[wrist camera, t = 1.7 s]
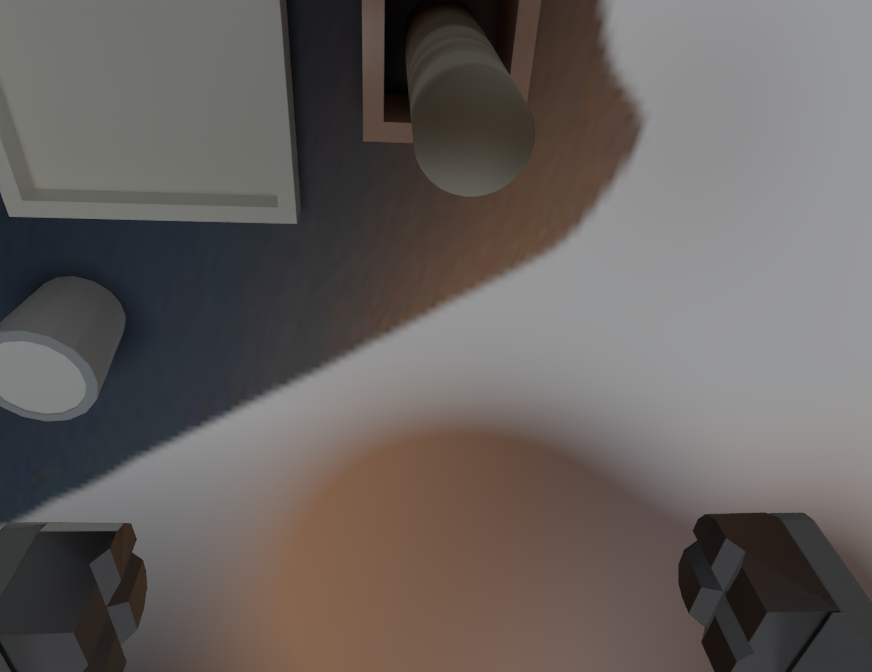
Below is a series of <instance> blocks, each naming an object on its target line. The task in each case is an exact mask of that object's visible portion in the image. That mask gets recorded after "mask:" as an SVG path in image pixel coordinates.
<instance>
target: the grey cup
mask: <svg viewBox="0 0 872 672" xmlns="http://www.w3.org/2000/svg"><path fill="white" fill-rule="evenodd" d="M125 321H126V316H125V313H124V310H123V308H122V305H121V303H120V302H119V301H118V300H117V298H116V297H115V296H114V295H113V294H112V293H111V292H110V291H109V290H107V289H106V288H104V287H102V286H101V285H99V284H97V283H96V282H94V281H91V280H87V279H83V278H80V277H76V276H71V277H57V278H55V279H53V280H51V281H48V282H46V283H44V284H43V285H42V286H41V287H40V288H38V289H37V290H36V291H35V292H34V293H33V294H32V295H31V296H29V297H28V298H27V299H26V300H25V301H24V302H23V303H22V304H20V305H19V306H18V307H17V308H16V309H15V310H14V311H13V312H11V313H10V314H9V315H8V316H7V317H6V318H5V319H4V320H2V321H1V322H0V406H1V407H3V408H5V409H7V410H10V411H12V412H14V413H16V414H18V415H20V416H23V417H28V418H33V419H37V420H42V421H59V420H69V419H72V418H74V417H77V416H79V415H81V414H84V413H86V412H87V411H88V410H89V408H90V407H91V406H92V405H93V404H94V402H95V401H96V400H97V397H98V395H99V392H100V390H101V387H102V385H103V382H104V380H105V377H106V375H107V372H108V370H109V367H110V365H111V362H112V360H113V357H114V354H115V352H116V349H117V347H118V344H119V342H120V339H121V337H122V334H123V332H124V329H125Z"/></svg>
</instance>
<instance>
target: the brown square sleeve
mask: <svg viewBox="0 0 872 672" xmlns="http://www.w3.org/2000/svg"><path fill="white" fill-rule="evenodd" d="M540 7H541V0H501V7H500V17H499V26H498V36H497V45H496V53H497V55H498V56H499V58H500V60H501V61H502V63H503V65H504V66H505V68H506V70H507V71H508V73H509V75H510V76H511V78H512V80H513V81H514V83H515V85H516V86H517V88H518V90H519V91H520V93H521V95H522V96H523V98H524V100H525V101H526V103H527V100H528V93H529V86H530V79H531V72H532V64H533V57H534V50H535V43H536V35H537V28H538V21H539V14H540ZM384 43H385V0H362V61H363V141H367V142H394V143H413V134H412V124H411V113H410V102H409V95H408V94H385V93H384Z"/></svg>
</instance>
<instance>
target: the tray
mask: <svg viewBox="0 0 872 672" xmlns="http://www.w3.org/2000/svg"><path fill="white" fill-rule="evenodd" d="M0 193H1V195H2V198H3V201H4V203H5V206H6V209H7V212H8V214H9V217H44V218H84V219H124V220H164V221H204V222H244V223H284V224H297V222H298V218H299V214H300V210H301V199H300V185H299V171H298V157H297V144H296V130H295V116H294V102H293V88H292V74H291V61H290V47H289V33H288V19H287V5H286V0H0Z"/></svg>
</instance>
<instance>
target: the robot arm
mask: <svg viewBox="0 0 872 672" xmlns="http://www.w3.org/2000/svg"><path fill="white" fill-rule="evenodd" d="M693 532H694V534H695V536H696V538H697V541H696V542H695V543H693V544H692V545H690V546H689V547H688V548H686V549H685V550H684V551H683V554H682V557H681V559H680V562H679V565H678V566H679V567H678V570H679V572H678V573H679V574H678V576H679V577H678V583H679V587H680V591H681V595H682V599H683V601H684V603H685V606H686V608H687V610H688V613H689V614H690V615H691V616H692V617H694V618H695V619H696V620H697V621H698V622H699V623H700V624H702V625H703V626H704V627H705V630H704V634H703V638H702V645H703V647H704V649H705V652H706V654H707V656H708V658H709V661H710V663H711V665H712V667H713V669H714V672H872V601H871V600H870V599H869V597H868V596H867V594H866V593H865V592H864V590H863V589H862V587H861V586H860V585H859V583H858V582H857V580H856V579H855V578H854V576H853V575H852V573H851V572H850V571H849V569H848V568H847V566H846V565H845V564H844V562H843V561H842V559H841V558H840V557H839V555H838V554H837V552H836V551H835V550H834V548H833V547H832V545H831V544H830V543H829V541H828V540H827V538H826V537H825V536H824V534H823V533H822V531H821V530H820V528H819V527H818V526H817V524H816V523H815V521H814V520H813V519H811V518H810V517H809V516H807V515H806V514H805V513H769V514H768V513H730V514H705V515H703V516H702V517H700V518H699V519H698V520H697V522H696V524H695V527H694V529H693ZM136 540H137V539H136V536H135V533H134V531H133V528H132V525H131V524H130V523H73V522H72V523H70V522H69V523H68V522H9V523H8V524H6V525H5V526H4V527H3V528H2V529H0V672H123V671H124V668H125V665H126V659H125V656H124V653H123V650H122V648H121V644H122V643H124V642H125V641H126V640H127V639H128V638H129V637H130V636H131V635H132V634H133V633H134V632H135V631H136V630H137V629H138V626H139V623H140V620H141V616H142V613H143V610H144V605H145V598H146V591H147V578H146V569H145V566H144V562H143V560H142V559H141V558H139V557H138V556H136V555H135V554H134V553H132V551H133V548H134V545H135V542H136Z"/></svg>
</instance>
